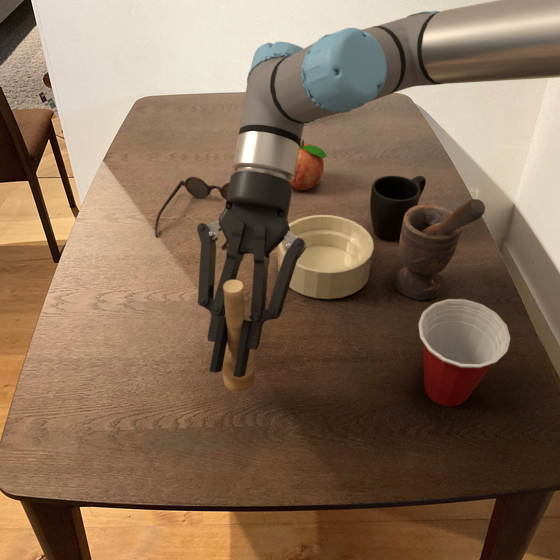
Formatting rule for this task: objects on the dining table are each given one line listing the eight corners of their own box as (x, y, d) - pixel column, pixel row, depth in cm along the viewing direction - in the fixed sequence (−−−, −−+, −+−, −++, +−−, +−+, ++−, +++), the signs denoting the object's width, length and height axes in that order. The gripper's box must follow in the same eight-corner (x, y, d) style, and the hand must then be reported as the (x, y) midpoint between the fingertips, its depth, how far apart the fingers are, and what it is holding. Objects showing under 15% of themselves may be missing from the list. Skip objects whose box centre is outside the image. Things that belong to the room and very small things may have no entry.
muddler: (259, 372, 75) (256, 278, 65) (247, 395, 72) (243, 301, 62) (231, 364, 76) (223, 270, 66) (218, 386, 73) (208, 293, 63)
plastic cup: (389, 396, 77) (403, 334, 69) (426, 348, 83) (442, 286, 76) (466, 439, 72) (490, 377, 64) (499, 385, 79) (524, 322, 71)
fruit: (307, 202, 112) (309, 156, 105) (268, 186, 116) (268, 141, 110) (332, 184, 117) (335, 139, 110) (294, 169, 121) (295, 125, 115)
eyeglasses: (253, 205, 111) (252, 182, 108) (228, 251, 100) (226, 227, 97) (182, 194, 114) (179, 171, 111) (150, 237, 103) (146, 214, 100)
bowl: (378, 253, 100) (382, 225, 96) (356, 311, 89) (360, 282, 85) (295, 235, 104) (296, 207, 100) (265, 288, 93) (264, 259, 89)
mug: (434, 227, 106) (444, 182, 100) (390, 252, 100) (398, 206, 94) (400, 207, 111) (408, 163, 105) (356, 230, 105) (362, 185, 99)
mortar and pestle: (471, 290, 93) (504, 183, 80) (449, 321, 88) (480, 211, 75) (406, 263, 98) (427, 158, 85) (382, 290, 93) (400, 183, 80)
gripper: (328, 193, 71) (295, 383, 70) (210, 177, 74) (177, 360, 72) (322, 177, 64) (285, 389, 62) (192, 160, 66) (154, 363, 65)
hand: (227, 373), depth 67 cm, fingers closed on muddler, 2 cm apart
